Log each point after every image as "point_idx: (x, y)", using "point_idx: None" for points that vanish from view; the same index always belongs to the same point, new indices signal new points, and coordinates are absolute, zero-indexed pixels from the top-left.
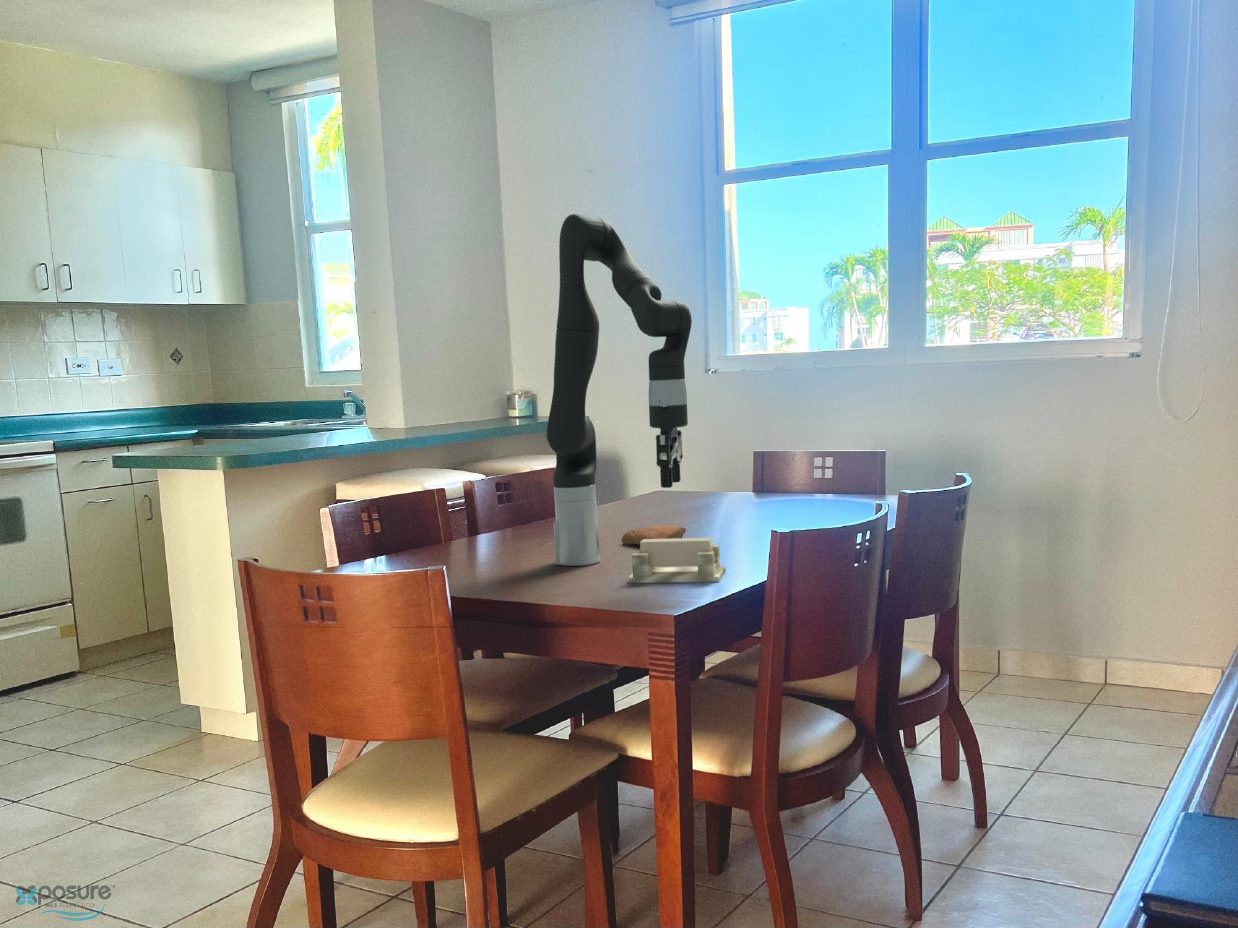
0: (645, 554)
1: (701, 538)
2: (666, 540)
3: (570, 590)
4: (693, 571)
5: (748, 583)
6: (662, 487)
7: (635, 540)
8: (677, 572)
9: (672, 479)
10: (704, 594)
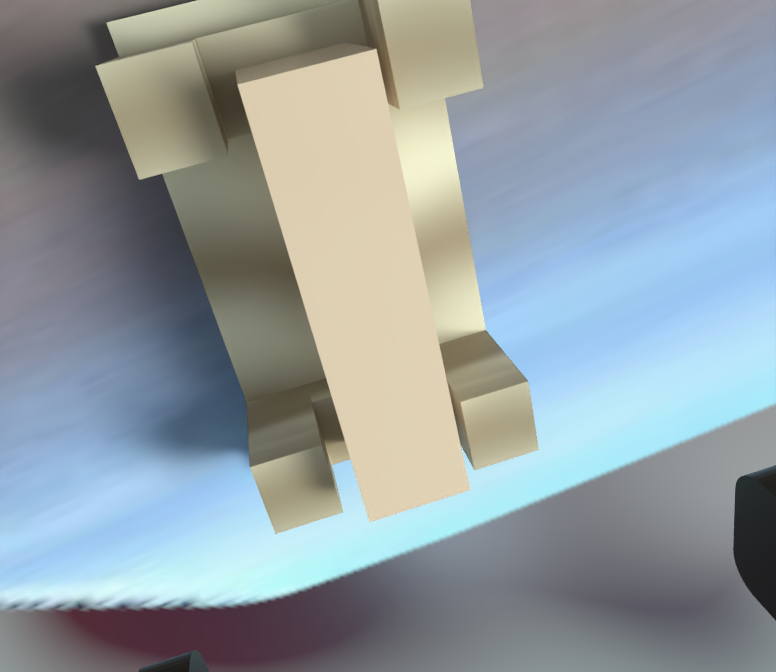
0: (154, 162)
1: (439, 445)
2: (342, 263)
3: None
4: None
5: (275, 576)
6: (150, 667)
7: None
8: None
9: (765, 524)
10: (8, 521)
